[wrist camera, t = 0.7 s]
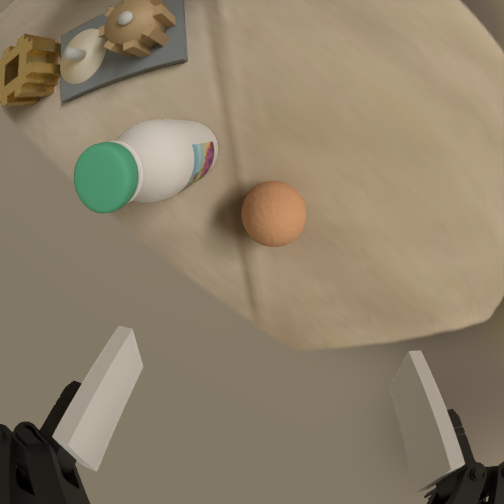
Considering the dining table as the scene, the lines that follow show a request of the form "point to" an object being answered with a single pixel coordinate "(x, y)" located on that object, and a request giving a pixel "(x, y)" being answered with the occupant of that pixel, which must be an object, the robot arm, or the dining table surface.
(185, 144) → the milk bottle
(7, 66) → the gear
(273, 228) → the egg
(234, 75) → the dining table surface
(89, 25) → the gear board
